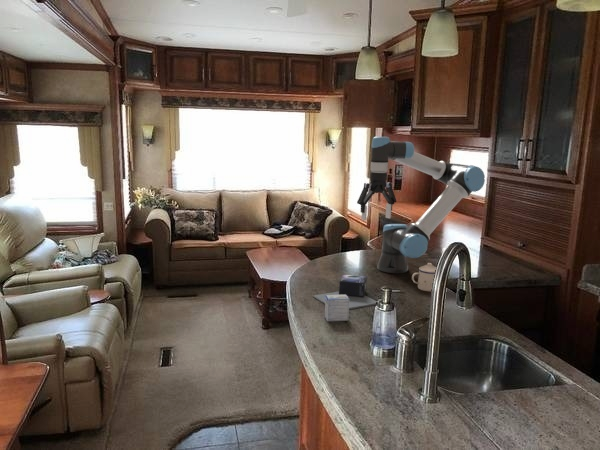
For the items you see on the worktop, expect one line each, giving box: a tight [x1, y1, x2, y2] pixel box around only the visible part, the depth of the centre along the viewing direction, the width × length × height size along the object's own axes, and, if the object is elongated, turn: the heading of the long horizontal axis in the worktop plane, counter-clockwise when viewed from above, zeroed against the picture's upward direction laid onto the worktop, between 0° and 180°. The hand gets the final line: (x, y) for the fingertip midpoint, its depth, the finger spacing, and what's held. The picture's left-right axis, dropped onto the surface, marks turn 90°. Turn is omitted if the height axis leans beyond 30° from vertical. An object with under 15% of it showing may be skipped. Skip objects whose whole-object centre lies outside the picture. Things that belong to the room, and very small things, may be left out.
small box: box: [338, 274, 368, 297], centre depth 200 cm, size 11×6×10 cm
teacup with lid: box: [411, 262, 437, 292], centre depth 209 cm, size 12×9×12 cm
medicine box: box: [324, 295, 350, 322], centre depth 172 cm, size 8×4×9 cm, turn 100°
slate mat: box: [312, 290, 378, 310], centre depth 193 cm, size 20×18×1 cm
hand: (376, 219), depth 215 cm, fingers open, 13 cm apart
